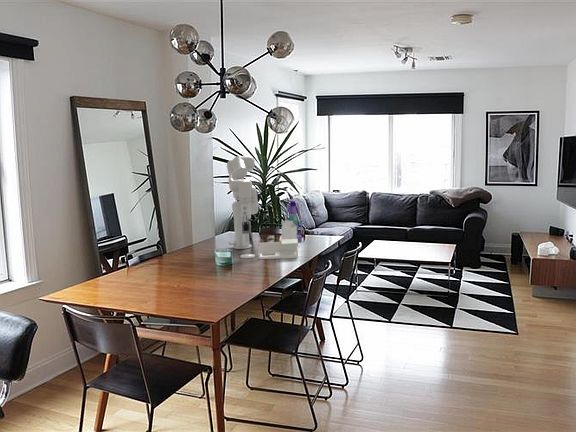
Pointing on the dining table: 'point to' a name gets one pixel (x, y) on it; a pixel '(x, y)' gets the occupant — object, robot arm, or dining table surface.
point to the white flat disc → (247, 256)
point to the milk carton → (289, 230)
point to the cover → (288, 242)
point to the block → (249, 228)
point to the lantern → (294, 217)
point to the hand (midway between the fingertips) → (246, 229)
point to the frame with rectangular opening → (276, 251)
